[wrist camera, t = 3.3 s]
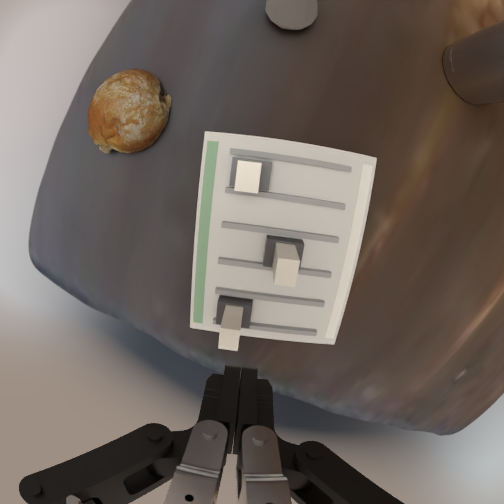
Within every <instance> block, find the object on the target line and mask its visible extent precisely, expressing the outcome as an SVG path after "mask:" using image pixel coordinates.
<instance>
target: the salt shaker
mask: <svg viewBox="0 0 504 504" xmlns="http://www.w3.org/2000/svg"><path fill="white" fill-rule="evenodd" d="M265 11H266V13H267V15H268V16H269V18H270V20H271V21H272V22H274V23H275V24H276V25H278V26H279V27H280V28H282V29H290V30H300V29H303V28H305V27H307V26H309V25H311V24H312V23H313V21H314V20H315V19H316V17H317V0H267V2H266V10H265Z"/></svg>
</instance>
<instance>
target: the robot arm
mask: <svg viewBox="0 0 504 504" xmlns="http://www.w3.org/2000/svg"><path fill="white" fill-rule="evenodd" d="M443 67H444V71H445V74H446V77H447V79H448V81H449V83H450V85H451V86H452V88H453V89H454V91H455V92H456V93H457V94H458V95H459V96H460V97H461V98H462V99H464V100H465V101H466V102H469V103H471V104H475V105H478V104H486V103H489V104H494V103H502V102H504V20H503V21H500V22H498V23H496V24H493V25H491V26H489V27H487V28H484V29H482V30H480V31H478V32H476V33H474V34H471V35H469V36H467V37H465V38H463V39H461V40H459V41H457V42H455V43H453V44H451V45H449V46H448V47H447V48H446V49H445V51H444V54H443ZM240 370H241V366H233V365H225V371H224V375H220V374H212V375H211V376H210V377H209V378H208V380H207V382H206V386H205V391H204V396H203V400H202V405H201V410H200V414H199V419H198V421H197V423H196V424H195V425H194V426H193V427H192V428H190V429H188V430H184V431H172V432H171V431H170V430H169V429H168V428H167V427H166V426H164V425H161V424H157V423H151V424H146V425H145V426H142V427H140V428H138V429H136V430H134V431H132V432H130V433H128V434H126V435H124V436H122V437H120V438H118V439H116V440H114V441H111V442H109V443H107V444H105V445H103V446H101V447H98V448H96V449H94V450H92V451H89V452H87V453H85V454H82V455H80V456H78V457H75V458H73V459H71V460H68V461H65V462H63V463H61V464H58V465H55V466H53V467H50V468H47V469H45V470H42V471H39V472H36V473H34V474H31V475H28V476H26V477H24V478H23V479H22V480H21V482H20V484H19V492H20V495H21V496H22V498H23V499H24V500H25V501H26V502H27V503H28V504H128V503H130V502H132V501H134V500H136V499H138V498H140V497H141V496H143V495H145V494H147V493H148V492H150V491H152V490H154V489H155V488H157V487H159V486H160V485H162V484H164V483H165V482H167V481H169V480H170V479H172V481H171V484H170V487H169V490H168V493H167V495H166V499H165V501H164V504H216V500H217V495H218V491H219V487H220V482H221V478H222V473H223V467H224V466H225V464H226V457H227V454H231V451H232V444H233V438H234V446H233V454H237V455H238V458H237V466H236V492H237V504H292V503H291V497H292V498H293V499H294V500H295V501H296V502H297V503H298V504H404V503H402V502H401V501H399V500H398V499H396V498H395V497H393V496H392V495H391V494H389V493H388V492H386V491H385V490H383V489H382V488H380V487H379V486H377V485H376V484H375V483H373V482H372V481H370V480H369V479H368V478H366V477H365V476H364V475H362V474H361V473H360V472H358V471H357V470H356V469H354V468H353V467H351V466H350V465H349V464H348V463H346V462H345V461H344V460H342V459H341V458H340V457H339V456H337V455H336V454H335V453H333V452H332V451H331V450H330V449H329V448H327V447H326V446H325V445H323V444H321V443H319V442H316V441H306V442H303V443H301V444H300V445H295V444H292V443H289V442H286V441H284V440H282V439H281V438H280V437H278V435H277V434H276V432H275V430H274V416H273V392H272V386H271V385H270V383H269V381H268V380H265V379H257V373H258V369H257V368H251V367H242V370H241V377H240ZM239 381H240V384H239ZM234 432H235V434H234Z"/></svg>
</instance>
